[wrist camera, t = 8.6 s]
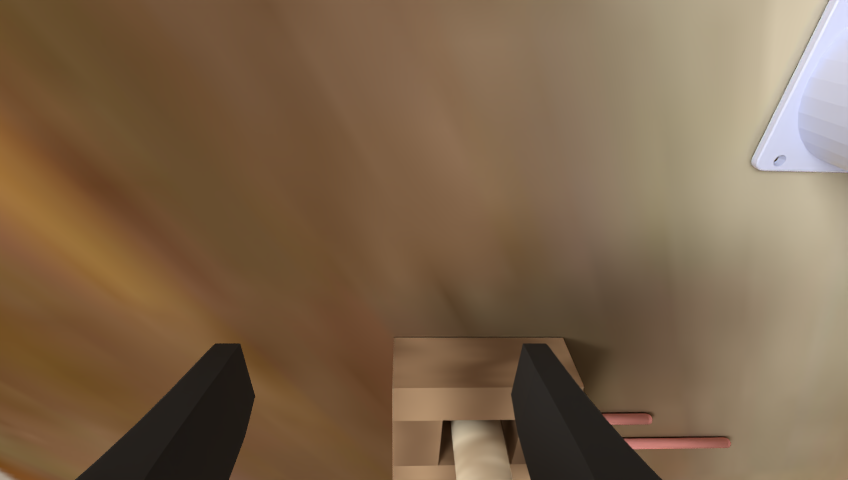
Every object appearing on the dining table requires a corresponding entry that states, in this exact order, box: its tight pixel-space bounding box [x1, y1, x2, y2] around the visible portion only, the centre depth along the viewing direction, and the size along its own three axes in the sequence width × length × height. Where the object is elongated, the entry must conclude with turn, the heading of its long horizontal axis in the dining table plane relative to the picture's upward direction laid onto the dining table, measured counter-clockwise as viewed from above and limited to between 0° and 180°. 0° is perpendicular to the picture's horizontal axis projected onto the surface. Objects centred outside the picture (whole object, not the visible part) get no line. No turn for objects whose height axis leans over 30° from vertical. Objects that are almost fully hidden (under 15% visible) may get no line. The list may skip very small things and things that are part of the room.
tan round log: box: [450, 420, 513, 480], centre depth 24 cm, size 3×3×8 cm
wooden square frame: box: [392, 338, 584, 480], centre depth 25 cm, size 10×10×4 cm
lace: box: [602, 413, 731, 449], centre depth 29 cm, size 16×4×1 cm, turn 88°
